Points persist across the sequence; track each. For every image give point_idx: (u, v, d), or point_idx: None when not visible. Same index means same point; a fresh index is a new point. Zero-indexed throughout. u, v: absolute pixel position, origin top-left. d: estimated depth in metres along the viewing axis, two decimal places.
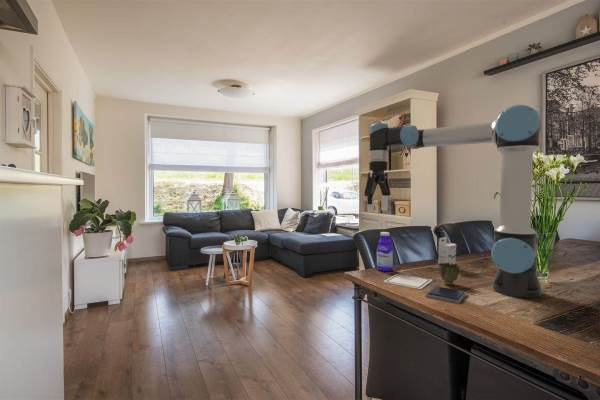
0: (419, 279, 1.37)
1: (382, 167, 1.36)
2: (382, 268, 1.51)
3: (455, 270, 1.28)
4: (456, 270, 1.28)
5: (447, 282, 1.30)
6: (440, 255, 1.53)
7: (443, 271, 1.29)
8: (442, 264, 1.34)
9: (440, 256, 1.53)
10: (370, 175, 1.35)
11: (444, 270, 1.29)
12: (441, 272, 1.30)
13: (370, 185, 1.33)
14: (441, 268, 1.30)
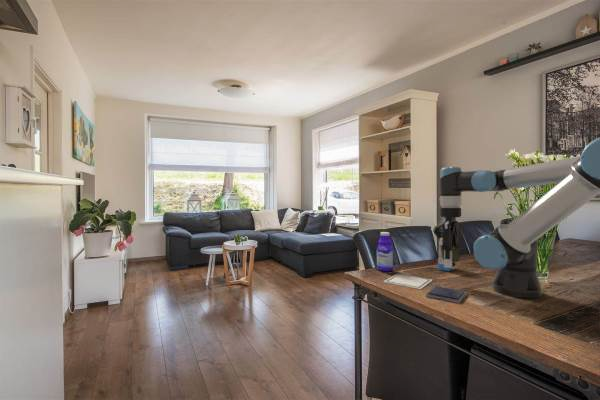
0: (419, 279, 1.37)
1: (456, 214, 1.26)
2: (382, 268, 1.51)
3: (457, 251, 1.27)
4: (458, 251, 1.27)
5: None
6: (440, 255, 1.53)
7: None
8: None
9: (440, 256, 1.53)
10: (445, 227, 1.25)
11: None
12: (443, 254, 1.30)
13: (447, 239, 1.24)
14: (443, 250, 1.29)
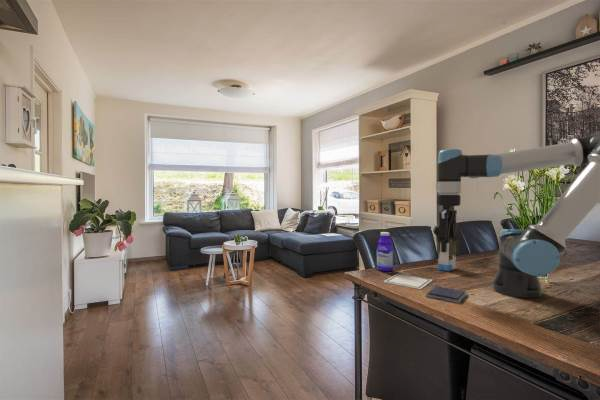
0: (419, 279, 1.37)
1: (455, 202, 1.12)
2: (382, 268, 1.51)
3: (454, 243, 1.13)
4: (455, 243, 1.14)
5: None
6: None
7: None
8: None
9: None
10: (442, 216, 1.11)
11: None
12: (438, 246, 1.16)
13: (444, 230, 1.11)
14: (438, 242, 1.16)
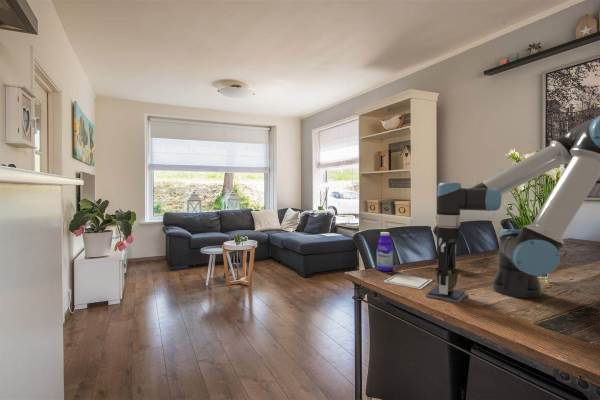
0: (419, 279, 1.37)
1: (454, 236, 1.13)
2: (382, 268, 1.51)
3: (453, 276, 1.14)
4: (454, 276, 1.14)
5: None
6: None
7: None
8: None
9: None
10: (441, 250, 1.12)
11: None
12: (438, 278, 1.17)
13: (444, 264, 1.11)
14: None
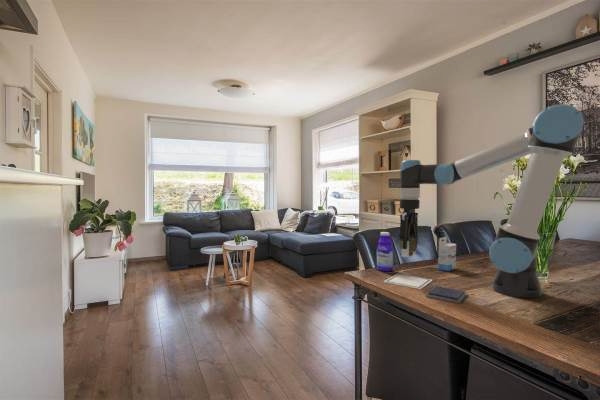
0: (419, 279, 1.37)
1: (414, 206, 1.30)
2: (382, 268, 1.51)
3: (413, 241, 1.31)
4: (414, 241, 1.31)
5: None
6: (440, 255, 1.53)
7: None
8: None
9: (440, 256, 1.53)
10: (402, 218, 1.29)
11: None
12: (400, 244, 1.34)
13: (404, 230, 1.29)
14: (400, 240, 1.34)
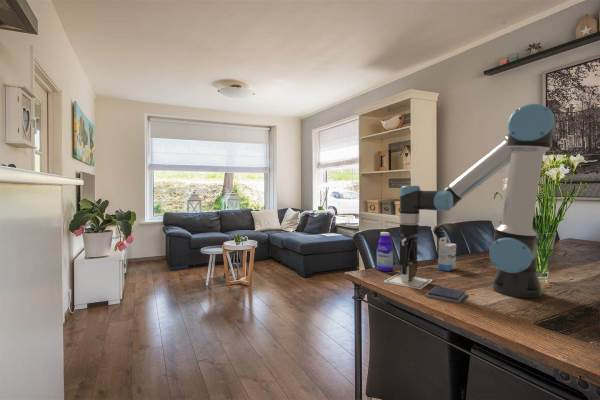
0: (419, 279, 1.37)
1: (413, 232, 1.31)
2: (382, 268, 1.51)
3: (413, 267, 1.32)
4: (414, 267, 1.32)
5: None
6: (440, 255, 1.53)
7: None
8: None
9: (440, 256, 1.53)
10: (402, 244, 1.29)
11: None
12: (400, 269, 1.34)
13: (404, 256, 1.29)
14: None
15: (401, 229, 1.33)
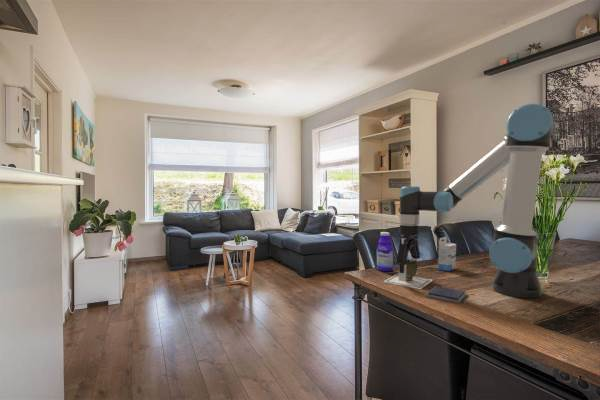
0: (419, 279, 1.37)
1: (413, 232, 1.31)
2: (382, 268, 1.51)
3: (413, 266, 1.32)
4: (414, 266, 1.32)
5: (406, 278, 1.34)
6: (440, 255, 1.53)
7: None
8: None
9: (440, 256, 1.53)
10: (402, 242, 1.29)
11: None
12: None
13: (402, 253, 1.28)
14: None
15: (401, 230, 1.33)
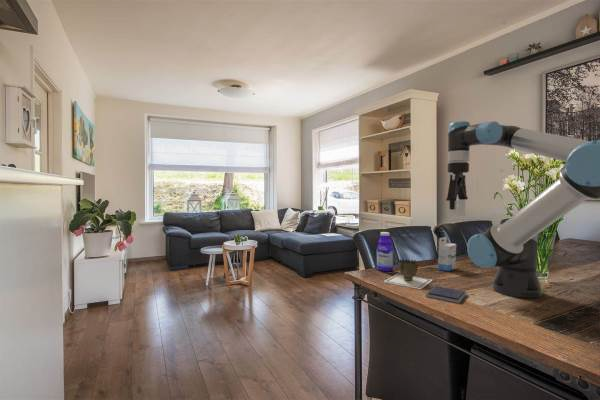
0: (419, 279, 1.37)
1: (464, 169, 1.26)
2: (382, 268, 1.51)
3: (413, 266, 1.32)
4: (414, 266, 1.32)
5: (406, 278, 1.34)
6: (440, 255, 1.53)
7: (402, 267, 1.34)
8: (402, 261, 1.39)
9: (440, 256, 1.53)
10: (452, 178, 1.24)
11: (403, 266, 1.33)
12: (400, 268, 1.35)
13: (454, 189, 1.23)
14: (400, 264, 1.34)
15: (450, 167, 1.28)
